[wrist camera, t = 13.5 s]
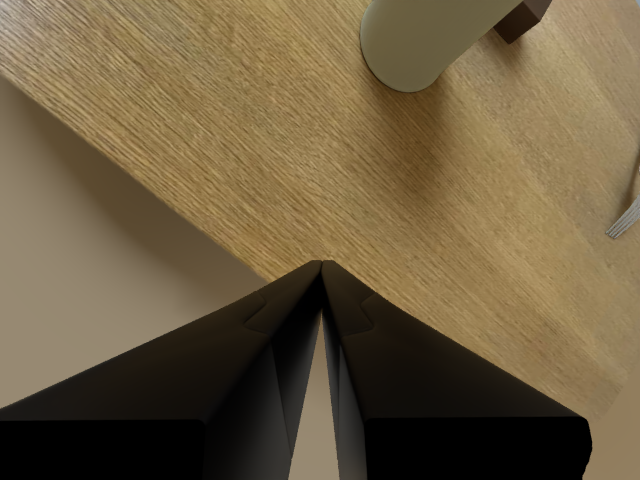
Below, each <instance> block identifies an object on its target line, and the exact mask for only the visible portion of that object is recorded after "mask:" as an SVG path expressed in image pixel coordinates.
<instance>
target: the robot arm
mask: <svg viewBox="0 0 640 480" xmlns="http://www.w3.org/2000/svg"><path fill="white" fill-rule="evenodd" d="M321 314H322V321H323V331H324V339H325V349H326V358H327V368H328V376H329V385H330V395H331V404H332V413H333V422H334V432H335V441H336V450H337V459H338V469H339V477H340V480H582V477H583V474H584V472H585V469H586V465H587V464H588V462H589V459H590V455H591V452H592V438H591V434H590V429H589V424H588V421H587V420H586V419H585V418H584V417H582V416H580V415H578V414H577V413H575V412H573V411H572V410H570V409H568V408H567V407H565V406H563V405H562V404H560V403H558V402H557V401H555V400H553V399H551V398H550V397H548V396H546V395H545V394H543V393H541V392H540V391H538V390H536V389H535V388H533V387H531V386H530V385H528V384H526V383H524V382H523V381H521V380H519V379H518V378H516V377H514V376H513V375H511V374H509V373H508V372H506V371H504V370H503V369H501V368H499V367H497V366H496V365H494V364H492V363H491V362H489V361H487V360H486V359H484V358H482V357H481V356H479V355H477V354H476V353H474V352H472V351H470V350H469V349H467V348H465V347H464V346H462V345H460V344H459V343H457V342H455V341H454V340H452V339H450V338H449V337H447V336H445V335H443V334H442V333H440V332H438V331H437V330H435V329H433V328H432V327H430V326H428V325H427V324H425V323H423V322H421V321H420V320H418V319H416V318H415V317H413V316H411V315H410V314H408V313H406V312H405V311H403V310H402V309H400V308H398V307H397V306H395V305H394V304H392V303H391V302H389V301H388V300H386V299H385V298H384V297H382V296H381V295H380V294H378V293H377V292H375V291H374V290H372V289H371V288H370V287H368V286H367V285H366V284H364V283H363V282H362V281H360V280H359V279H358V278H356V277H355V276H354V275H352V274H351V273H350V272H348V271H347V270H346V269H344V268H343V267H342V266H340V265H339V264H338V263H336V262H335V261H333V260H324V261H323V262H322V261H321V260H311V261H310V262H308V263H306V264H304V265H302V266H301V267H299V268H297V269H295V270H293V271H291V272H290V273H288V274H286V275H284V276H282V277H281V278H279V279H277V280H275V281H273V282H272V283H270V284H268V285H266V286H264V287H263V288H261V289H259V290H257V291H254V292H253V293H251V294H249V295H247V296H245V297H243V298H241V299H240V300H238V301H236V302H234V303H232V304H229V305H228V306H225V307H223V308H221V309H219V310H217V311H215V312H212V313H210V314H208V315H206V316H204V317H201V318H199V319H197V320H195V321H193V322H191V323H188V324H186V325H184V326H182V327H180V328H177V329H175V330H173V331H171V332H169V333H166V334H164V335H162V336H160V337H157V338H155V339H153V340H151V341H149V342H147V343H144V344H142V345H140V346H138V347H136V348H133V349H131V350H129V351H127V352H125V353H122V354H120V355H118V356H116V357H114V358H111V359H109V360H107V361H105V362H103V363H100V364H98V365H96V366H94V367H92V368H90V369H87V370H85V371H83V372H81V373H79V374H76V375H74V376H72V377H70V378H68V379H65V380H63V381H61V382H59V383H57V384H54V385H52V386H50V387H48V388H46V389H43V390H41V391H39V392H37V393H35V394H33V395H30V396H28V397H26V398H24V399H21V400H19V401H17V402H15V403H13V404H10V405H8V406H5V407H3V408H1V409H0V480H288V477H289V472H290V466H291V459H292V457H293V452H294V447H295V442H296V437H297V432H298V427H299V423H300V417H301V413H302V408H303V403H304V398H305V393H306V388H307V384H308V379H309V374H310V369H311V364H312V359H313V354H314V349H315V344H316V340H317V335H318V330H319V325H320V320H321Z"/></svg>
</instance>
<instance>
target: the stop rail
mask: <svg viewBox="0 0 640 480" xmlns="http://www.w3.org/2000/svg"><path fill="white" fill-rule="evenodd" d="M551 1H552V0H523V1H522V2H521V3H520V4H518V5H517V6H516V7H515V8H514V9H513V10H512V11H510V12H509V13H508V14H507V15H506V16H505V17H504V18H502V19H501V20H500V21H499V22H498V23H497V24H496V25H494V26H493V27H494V28H495V30H496V31H497V32H498V33H499V34H500V35H501V36H502V37H503V38H504V39H505V40H506V41H507V42H508V43H509V44H511V43H512V42H514V41H515V40H516V39H518V38H519V37H520V36H522V35H523V34H524V33H525V32H527V31H528V30H529V29H531V28H532V27H533V26H535V25H536V24H537V23H539V22H540V21H541V19H542V17H543V16H544V14H545V12H546V10H547V9H548V7H549V5H550V3H551Z"/></svg>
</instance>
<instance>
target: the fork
mask: <svg viewBox="0 0 640 480" xmlns="http://www.w3.org/2000/svg"><path fill="white" fill-rule="evenodd" d="M639 174H640V165H639ZM635 206H636V207H635ZM634 207H635V208H634ZM633 208H634V209H633ZM638 208H639V209H638ZM632 209H633V210H632ZM637 209H638V210H637ZM631 210H632V211H631ZM636 210H637V211H636ZM630 211H631V212H630ZM635 211H636V212H635ZM629 212H630V213H629ZM634 212H635V213H634ZM639 212H640V193H639V195H638V196H637V198H636V199H635V201H634V202H633V204H632V205H631V206H630V207H629V208H628V209H627V211H626V212H625V213H624V214H623V215H622V216H621V217H620V218H619V220H618V221H617V222H616V223H615V224H614V225H613V226H612V227H611V228H610V229H609V230H608V231H607V232H606V234H607V233H608V232H609V231H610V230H612V229H613V228H614V227H615V226H616V225H617V224H618V223H619V222H620V221H621V220H623V219H624V218H625V219H624V220H623V221H622V222H621V223H620V224H619V225H618V226H617V227H616V228H615V229H613V230H612V231H611V232H610V233H609V234H608V235H611V234H612V233H613V232H614V231H615V230H616V229H618V228H619V227H620V226H621V225H622V224H623V223H624V222H625V221H626V220H627V219H628V218H629V217H630V216H631V215H632V214H633V213H634V214H633V215H632V216H631V217H630V218H629V219H628V220H627V221H626V222H625V223H624V224H623V225H622V226H621V227H620V228H619V229H618V230H617V231H616V232H615V233H614V234H612V235H611V237H613V236H614V235H615V234H616V233H617V232H619V231H620V230H621V229H622V228H623V227H624V226H626V225H627V224H628V223H629V222H630V221H631V220H632V219H633V218H634V217H635V216H636V215H637V214H638V213H639ZM628 213H629V214H628ZM627 214H628V215H627ZM626 215H627V216H626ZM625 216H626V217H625ZM639 218H640V213H639V214H638V215H637V216H636V217H635V218H634V219H633V220H632V221H631V222H630V223H629V224H628V225H627V226H626V227H625V228H624V229H623V230H621V231H620V232H619V233H618V234H617V235H616V236H615V237H614V239H615V238H616V237H618V236H619V235H620V234H621V233H623V232H624V231H625V230H626V229H627V228H629V227H630V226H631V225H632V224H633V223H634V222H635V221H636V220H637V219H639Z"/></svg>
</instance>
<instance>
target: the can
mask: <svg viewBox="0 0 640 480" xmlns="http://www.w3.org/2000/svg"><path fill="white" fill-rule="evenodd" d="M522 1H523V0H372V2H371V3H370V4H369V6H368V7H367V9H366V11H365V13H364V15H363V18H362V22H361V28H360V42H361V48H362V52H363V55H364V58H365V60H366V62H367V64H368V66H369V68H370V69H371V71H372V72H373V73H374V75H375V76H376V77H377V78H378V79H379V80H380V81H381V82H383V83H384V84H385V85H387V86H388V87H390V88H392V89H395V90H397V91H401V92H416V91H419V90H422V89H424V88H426V87H428V86H429V85H431V84H432V83H433V82H434V81H435V80H436V79H437V77H438V76H439V75H440V74H441V73H442V72H443V71H444V70H445V69H446V68H447V67H448V66H449V65H450V64H452V63H453V62H454V61H455V60H456V59H457V58H458V57H459V56H461V55H462V54H463V53H464V52H465V51H466V50H467V49H468V48H470V47H471V46H472V45H473V44H474V43H475V42H476V41H477V40H479V39H480V38H481V37H482V36H483V35H484V34H485V33H487V32H488V31H489V30H490V29H491V28H492V27H493V26H494V25H496V24H497V23H498V22H499V21H500V20H501V19H502V18H504V17H505V16H506V15H507V14H508V13H509V12H510V11H512V10H513V9H514V8H515V7H516V6H517V5H518V4H520V3H521V2H522Z"/></svg>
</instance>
